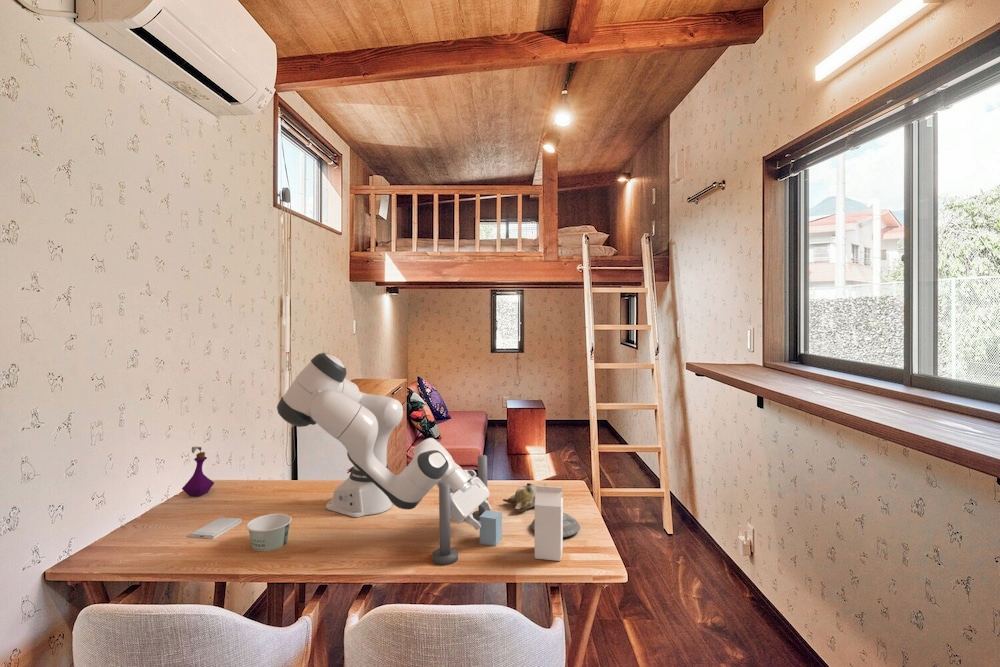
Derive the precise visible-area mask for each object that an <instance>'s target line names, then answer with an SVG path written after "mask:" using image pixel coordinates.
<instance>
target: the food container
mask: <svg viewBox="0 0 1000 667" xmlns="http://www.w3.org/2000/svg"><path fill="white" fill-rule="evenodd" d="M292 520H293V518H292V516H290V515H288V514H286V513H270V514H264V515H261V516H258V517H255V518H252V519H251V520H249V521H248V522H247V523H246V526H245V527H246V529H247V530H248V533H249V537H250V538H249V539H250V543H251V547H252V549H253V550H254V551H257V552H267V551H273V550H276V549H280V548H282V547H283V546H285V545H286V544H287V542H288V537H289V530H290V524H291V522H292Z"/></svg>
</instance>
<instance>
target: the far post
mask: <svg viewBox="0 0 1000 667" xmlns="http://www.w3.org/2000/svg"><path fill="white" fill-rule="evenodd" d="M477 477H478V478H479V479H480V480H481V481H482V482H483V483H484V484H485V486H486V487H487V488H488V455H486V454H479V455H478V456H477ZM488 499H489V497H488V498H487V501H488V502H489V500H488ZM477 508H478V510H474V511H473V512H472V513H471V514H472V515H473V518H474V519H475V520H477V521H480V516H481V515H482V514H483V513H484V512H485V509H484V507H483V508H482V506H481V505H479V506H478V507H477Z"/></svg>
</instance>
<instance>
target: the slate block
mask: <svg viewBox="0 0 1000 667" xmlns="http://www.w3.org/2000/svg"><path fill="white" fill-rule="evenodd" d="M502 519H503V512H502V511H494V510H493V511H489V510H486V511H485V512H484V513H483V514H482V515H481V516H480V523H481V524H482V526H481V527H480V528H479V544H480V545H485V546H486V545H487V546H492V547H497V546H498V544H499V543H500V542H501V541H502V539H503V538H502V537H503V534H502V533H503V532H502V530H503V528H502V525H503V520H502Z"/></svg>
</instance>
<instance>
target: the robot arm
mask: <svg viewBox="0 0 1000 667" xmlns="http://www.w3.org/2000/svg"><path fill="white" fill-rule="evenodd" d="M347 373H348V372H347V368H346V367H345V365H344V363H343V362H342V361H341V359H340V358H338V357H336V356H334V355H332V354H329V353H327V352H321V353H318V354H316V355H315V356H314V357H313V358H312V359H310V362H309V363H308V364H307V365H306V366H305V367H304V368H303V369H302V370H301V371H300V372H299V374H297V376H295V379H294V380H293V381H292V383H291V384H290V386H289V387H288V388H287V390H286V391H285V393H284V395H283V396H281V398H280V399H279V401H278V403H277V406H276V410H277V414H278V415H279V416H280V417H281V419H282V420H284V421H285V422H286V423H287V424H289V425H292V426H294V427H298V428H300V427H301V428H302V427H307V426H309V425H313V426H315V425H316V424H317V425H318V426H319V427H320V428H321V429H322V430H324V431H325V432H326V433H327V434H329V436H331V437H333V438H334V439H336V440H337V441H339V443H341V444H342V445H343V447H344V448H345V449H346V451H347V453H346V455H347V458H348V460H349V461H350V462H351V463H352V465H353V466H352V467H350V468H349V469H347V470H346V471H347V472H346V474H349V473H350V474H349V475H348V476H349V477H348V478H346V479H345V480H343V482H342V483H339V485H338V486H337V487H336V488H335V489H334V491H333V496H332V499H331V500H329V501H328V502H327V503H326V505H325V509H326V510H329V511H332V512H336V513H339V514H343V515H344V516H345V515H346V516H349V517H352V518H359V517H363V516H369V515H377V514H380V513H384V512H386V511H388V510H389V509H392V506H393V505H394V506H395V507H396V508H398V509H401V510H413V509H416V507H417V506H418V505H419V504H420V502H421V501H422V500H423V498H424V497H425V496H426V495H427V494H428V493H429V492H430V491H431V490H432V489H433V488H435V486H437V488H438V489H439V484H440V483H449V484H450V519H452V520H453V521H454V523H456V524H457V525H460V524H461V523H463V522H464V521H465V522H466V524H468V525H470V526H471V527H473V528H474V529H475V530H476V531H478V530H480V527H481V526H482V524H481V523H480V521H477V520H475V519H474V518H473V515H472V514H473V513H474V512H475V511H476V509H477V508H478V506H479V505H481V506H482V508H483V507H484V509H485V511H486V510H489V511H494V510H493V509H492V506H491V504H490V502H489V500H488V501H487V498H488V499H489V497H490V496H491V493H490V490H489V489H488V486H487V487H486V486H485V484H484V483H483V482H482V481H481V480H480V479H479V478H478V476H477V472H476V471H475V470H473V469H463V468H462V467H461V466H460V465H459V464H458V463H456V461H455V460H454V459H453V456H452V455H451V454H450V452H449V451H448V450H447V449H446V448H445V447H444V446H443V445H442V444H441V443H440V442H439V441H438V440H437V439H435V438H433V437H427V438H425V439H423V440H422V441H420V442H419V443H417V444H416V446H415V447H414V448H413V450H412V452H413V456H412V459H411V461H410V462H409V463H408V464H407V465H406V467H405V468H404V469H403V470H402V471H401V472H400V473H399V474H398V473H397V474H394V473H392V472H391V470H390V469H389V465H388V460H387V459H388V441H389V439H390V437H391V433H392V432H393V430H394V429H395V428H396V427H397V426H398V425H399V424H401V421H402V420H403V416H404V408H403V405H402V403H401V402H400V400H399V399H396V398H392V397H390V396H387V395H381V394H379V395H378V394H371V393H366V392H362V391H360V388H359V387H358V385H357V384H356V383H355V382H353V381H351V380H349V379H347V378H346V376H347Z"/></svg>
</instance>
